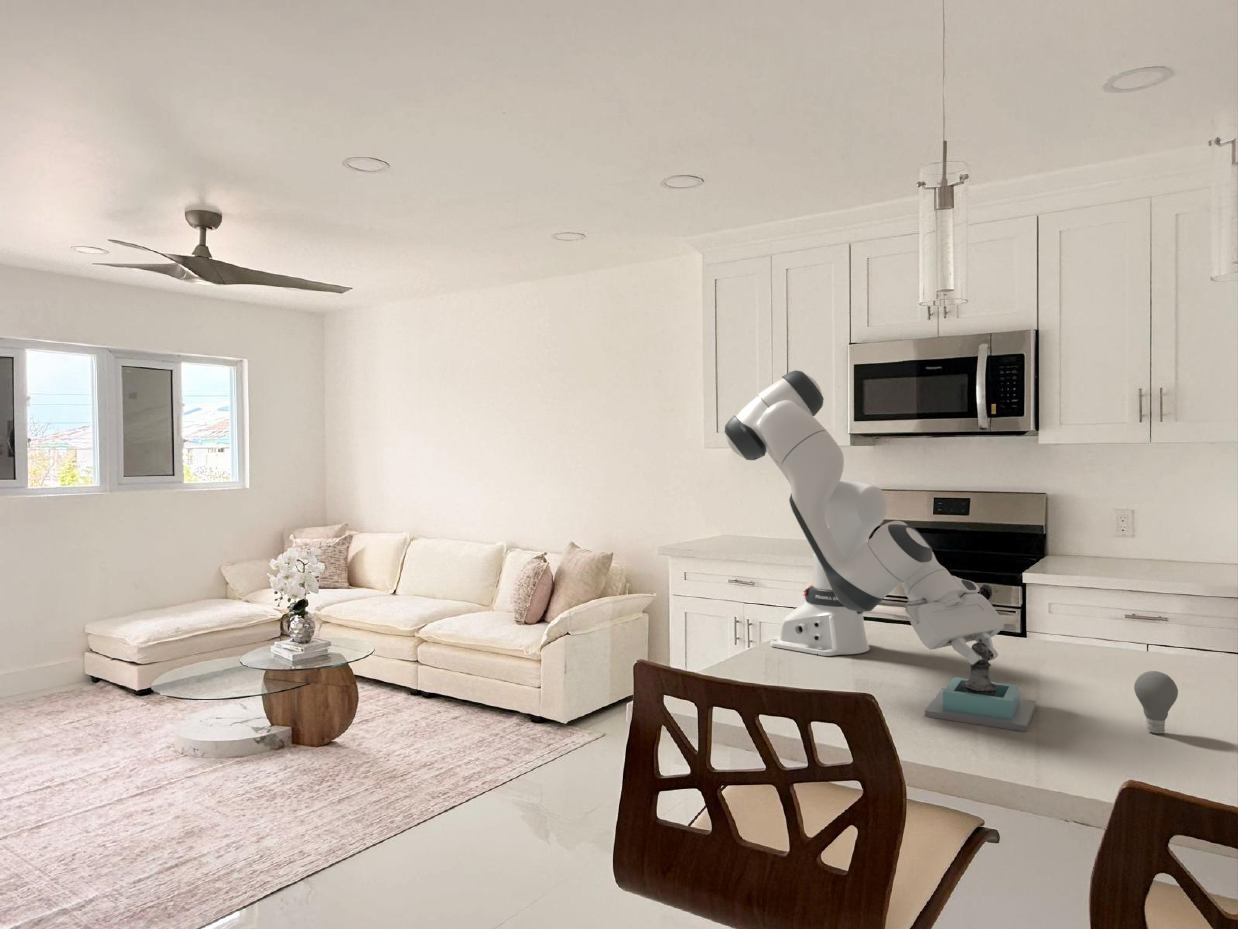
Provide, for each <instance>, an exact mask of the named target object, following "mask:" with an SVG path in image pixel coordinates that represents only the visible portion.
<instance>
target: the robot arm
mask: <svg viewBox="0 0 1238 929" xmlns="http://www.w3.org/2000/svg"><path fill="white" fill-rule="evenodd" d="M824 399H825V398H824V396H823V393H822V390H821V388H820V385H819V383H818V382H817V381H816V380H815V379H814V378H813V377H811V376H810V375H809V374H807V373H804V371H801V370H796V369H795V370H792V371H790V372H788V373H785V374H784V375H783V376H782V377H781V379H778V380H777V381H776V382H774V383H772V384H770V385H769V386H768V387H766V388H765V389H763V390H762V391H760V392H759V393H758V394H757V395H756V396H755V397H754V398H752V400H750V401H749V402H748V403H747V404H746V405H744V406H743V408H742V409H741V410H740V411H739V412H738V413H737V414H736V415H733V416H731V417H730V419H729V420H728V421H727V422H726V424H725V426H724V433H725V437H726V440H727V443H728V445H729V447H730V448H731V450H732V451H733V452H734V453H735V454H736V455H738V456H739V457H741V458H743V459H745V460H747V461H757V460H758V459H761V458H763V457H764V456H766V453H767V454H768V456H769V457H770V458H771V460H772V461H773V462H774V463H775V465H776V466H777V468H778V469H779V470H780V471H781V473H782V475H783V476H784V477H785V478H786V480H787V481H788V483H789V484H790V488H791V493H790V496H789V500H788V501H789V505H790V509H791V511H792V513H793V514H794V517H795V519H796V521H797V523H798V525H799V527H800V528H801V530H802V532H803V534H804V536H805V539H806V540H807V542H808V543H809V545H810V548H811V550H812V551H813V557H812V584H811V585H809V586H808V587H807V588H806V589H805V590H804V591H803V596H804V599H805V601H804V602H803V603H801V604H800V605H798V606H797V607H796V608H795V609H793V610H792V611H790V613H788V614H786V615H785V616H784V617H783V619H782V622H781V625H780V630H779V634H777V635H775V636H773V637H772V638H771V639H770V643H769V645H770V646H771V647H773V648H778V649H779V648H780V649H784V650H785V649H786V650H789V651H796V652H802V653H808V654H812V655H817V654H818V655H819V656H825V657H832V656H838V655H842V656H843V655H856V654H857V655H858V654H862V653H866V652H868V651H870V646H869V643H868V638H867V635H866V628H865V620H864V612H872V611H873V610H874V609H875V608H876V607H877V606H878V604H880V603H881V602H882V601H883V600H884V598H885V597H886V596H888V595H890V594H891V593H892V592H893V591H894V590H895V589H897V588H898V587H899V586H901V587H902V589H903V591H904V593H905V596H906V597H907V599H908V600H909V601H907V602H906V604H905V607H904V608H905V609H904V610H905V612H906V614H907V615H908V618H909V623H910V624H911V627H912V628H913V630H914V632H915V633H916V635H917V636H918V638H919V640H920V641H921V643H922V645H924V647H926V648H928V649H929V650H935V649H937V650H938V649H941V648H945V647H946V648H947V647H952V648H953V650H954V652H957V653H958V654H960V655H961V656H963V657H964V658H965V659H966V661H967V662H968V664H969V663H970V664H971V665H973V664H977V663H979V662H980V661H981V660H982V657H981V656H980V655H979V653H978V652H977V650H975V651H974V650H972V647H970V646H969V645H968V644H967V643H969V642H974V641H975V643H977V642H979V639H980V638H981V639H982V643H983V644H986V645H987V646H988V648H989V660H988V662H989V661H993V660H995V659H997V658H998V657H999V653H998V651H997V650H996V648H995V647H994V644H993V641H992V638H993V637H995V636H996V635H997V634H998V633H1000V631H1002V630H1003V629H1004V628H1005V624H1004V620H1003V618H1002V617H1001V616H1000V614H999V613H998V612H997V610H996V608H995V607H994V606H993V605H992V603H991V602H990V601H989V600H988V599H987V598H986V597H985V596H984V595H983V594H981V593H978V592H980V589H981V588H980V587H979V586H978V584H977V583H975V582H974V581H971V580H967V579H963V578H960V577H957V576H955V575H952V574H951V573H950V571H948V570H947V568H945V566H943V565H941V564H940V563H939V561H938V560H937V558H936V555H935V554H934V552H933V548H932V546H931V545H930V543H928V541H927V539H925V538H924V536H923V535H922V534H921V532H919V531H918V530H917V529H916V528H915V527H913V526H912V525H908V524H907V523H905V522H904V521H903V520H902V521H901V520H893V521H888V522H886V523H884V524H883V525H881V524H882V523H883V522H884V520H885V519H886V516H887V512H888V501H887V500H888V499H887V498H886V494H885V493H884V491H883V490H882V489H881V488H880V487H878V486H876V485H874V484H870V483H867V482H863V481H857V480H856V481H855V480H854V481H852V480H841V478H842V474H843V472H844V466H845V461H844V460H845V459H844V453H843V451H842V449H841V447H840V446H839V445H838V443H837V441H836V440H835V439H834V438H833V436H832V435H831V434H830V433H829V432H828V431H827V429H826V428H825V426H823V425H822V423H821V422H819V421H818V420H817V418H815V416H816V415H817V414H818V413H819V412H820V410H821V409H822V408H823V405H824ZM880 525H881V526H880ZM879 526H880V527H879ZM877 527H878V528H877ZM876 528H877V529H876ZM875 529H876V531H874V530H875ZM873 532H874V533H873ZM872 533H873V535H872ZM871 535H872V537H871V538H870V536H871ZM970 664H969V665H970ZM971 665H970V666H971Z"/></svg>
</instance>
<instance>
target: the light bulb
mask: <svg viewBox="0 0 1238 929" xmlns="http://www.w3.org/2000/svg"><path fill="white" fill-rule="evenodd" d="M1133 687H1134V693H1135V696H1136V698H1137V699H1138V701H1139V702H1140V704H1141V706H1142V708H1143V714H1144V716H1145V719H1146V720H1145V721H1146V730H1147V731H1149V732H1151V734H1157V735H1160V734H1162V733H1165V732H1166V730H1165V729H1166V727H1165V726H1166V725H1165V724H1166V719H1167V718H1168V715H1169V711H1170V709H1171V708H1172V706H1174V705H1175V703H1176V701H1177V699H1178V695H1179V689H1178V687H1177V684H1176V683H1175V681H1174V679H1173V678H1171V677H1170V676H1169V675H1168V674H1166V673H1164V672H1162V671H1158V670H1149V671H1145V672H1143V673H1141V674H1139V676H1138V677H1137V678H1136V680H1135V682H1134V686H1133Z"/></svg>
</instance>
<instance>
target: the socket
mask: <svg viewBox="0 0 1238 929" xmlns="http://www.w3.org/2000/svg"><path fill="white" fill-rule="evenodd" d="M967 680H969V678H965V677H955V676H954V677H953V678H952V680H951V681H950V682H948V684H947V686H945V687H942V688H941V689H940V691H939V692H937V694H936V696H935V697H934V698H933V700H932V701H931V702H930V703H929V705H928V706H927V707H926V708H925V710H924V717H928V718H933V719H941V720H946V721H952V722H954V721H955V722H959V723H966V724H971V725H972V724H973V725H978V726H980V725H981V726H984V727H985V726H986V727H992V728H999V729H1005V730H1013V731H1020V732H1025V733H1026V732H1028V730H1029V728H1030V724H1031V722H1032V719H1033V716H1034V713H1035V711H1036V708H1037V700H1035V699H1026V698H1020V685H1019V684H1010V683H1002V682H995V681H990V682H991V683H993V684H995V685H996V686H997V687H998V689H997V690H995V695H994V696H987V695H980V694H972V693H965V692H964V690H963V686H962V682H963V681H967Z"/></svg>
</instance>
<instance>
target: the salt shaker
mask: <svg viewBox="0 0 1238 929" xmlns="http://www.w3.org/2000/svg"><path fill="white" fill-rule="evenodd" d="M971 649H972V650H974V651H975V650H977V652H978V653H979V655H980V656H981V657H982V660H981V661H980V662H979V663H977V664H973V665H971V664H970V663H969V662H968V664H969V665H970V675H969V678H968V679H969V680H967V681H963V682H962V686H963V690H964V692H965V693H972V694H980V695H987V696H994V695H995V690H997V689H998V687H997V686H996V685H995V684H993V683H991V682H992V681H991V680H990V667H991V666H992V665H991V663H989V661H990V660H989V648H988V646H987V645H986V644H983V643H982V639H981V638H980V639H979V642H975V643H973V644H972V645H971ZM988 660H989V661H988Z"/></svg>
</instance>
